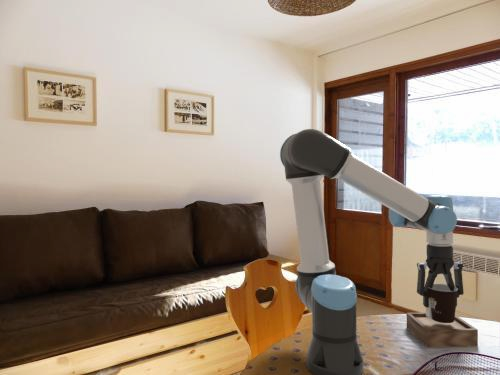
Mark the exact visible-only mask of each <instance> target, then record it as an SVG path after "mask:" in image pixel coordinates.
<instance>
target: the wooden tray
mask: <svg viewBox="0 0 500 375" xmlns="http://www.w3.org/2000/svg"><path fill="white" fill-rule="evenodd" d="M406 329H408V330H409V332H411V333H412V334H413V335H414V336H415V337H416V338H417V339H418V340H419V341H420V342H421V343H422V344H424V345H425V346H426V347H427V348H454V347H456V348H457V347H459V348H460V347H464V348H465V347H468V348H469V347H479V346H478V345H479V343H478V342H479V340H478V339H479V336H478V335H479V333H478V332H479V330H478V329H477V328H475V327H474V326H472V325H471V324H470V323H468V322H467V321H465V320H464V319H463V318H461V317H459V316H458V315H456V314H455V318H454V322H452V323H441V322H437V321H434V320H432V319H430V318H428V317H427V316H426V311H425V312H406Z"/></svg>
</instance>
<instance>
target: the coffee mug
mask: <svg viewBox="0 0 500 375" xmlns="http://www.w3.org/2000/svg"><path fill="white" fill-rule="evenodd" d="M428 290H429V299H430V305H431V314H432V320H434V321H437V322H441V323H452V322H454V318H455V315H456V309H457V307H456V302H457V303H458V298H457V294H458V288H457V287H454V291H451V290H450V289H449V287H448V285H447V283H446V284H445V283H434V284H433V287H432V289H431V288H429V287H428Z"/></svg>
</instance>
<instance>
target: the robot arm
mask: <svg viewBox="0 0 500 375" xmlns="http://www.w3.org/2000/svg"><path fill="white" fill-rule="evenodd" d="M279 158H280V162H281V164H282V165H283V167H284V175H285V181H287V182H288V183H289V184H290V185H291V189H292V199H293V206H294V214H295V224H296V231H297V232H296V233H297V239H298V240H297V241H298V248H299V257H300V263H299V264H298V265H297V266H296V276H297V278H296V280H295V291H296V294H297V297H298V299H299V300H300V301H301V303H302V304H303V305H304V306H305V307H306V308H307V309H308V310H309V312H310V313H311V320H312V321H311V323H312V324H311V326H312V327H311V328H312V331H311V332H312V333H311V335H312V336H311V340H310V342H309V346H308V349H307V352H306V357H305V362H306V364H305V366H306V368H307V369H308V370H309V372H311V373H312V374H313V375H362V374H363V373H364V369H365V368H364V366H365V365H364V362H365V361H364V358H363V355H362V352H361V350H360V346H359V343H358V340H357V300H358V294H357V289H356V285H355V283H354V282H353V281H352V280H350V279H349V278H348V277H345V276H341V275H337V271H336V265H335V264H336V263H334V262H332V261H331V260H330V254H329V246H328V237H327V231H326V230H327V229H326V222H325V210H324V203H323V195H322V193H323V192H322V186H321V185H322V184H321V181H322V179H323V178H324V177H327V178H328V179H330V180H332V179H333V180H334V179H338V180H340V181H341V182H343V183H345V184H346V185H348V186H350V187H352V188H353V189H356V191H359V192H360V193H362V194H363V195H366V196H368V197H369V198H370V199H372V200H374V201H375V202H378V203H379V204H381V205H383V206H385V207H386V208H388V220H389V222H390V224H391V225H392V227H395V228H413V229H417V230H421V231H425V233H426V234H425V235H426V236H425V237H426V242H425V243H427V244H426V260H425V261H424V262H417V263H416V267H417V270H418V271H417V283H416V293H417V294H418V295H420V296H422V305H423V306H424V308H425V312H426V316H427V317H428V318H430V319H432V314H431V305H430V299H429V290H428V287H429V288H431V289H432V287H433V284H435V280H436V278H437V277H438V275H443V277H444V280H445V282H446V285H448V287H449V289H450V290H451V291H454V287H457V288H458V294H457V299H458V298H459V297H460V296H463V295H464V293H465V292H464V283H463V272H462V271H463V268H464V265H463V263H461V262H458V261H454V259H453V258H454V246H453V245H452V244H453V243H454V235H453V234H454V230H455V228H456V227H457V223H458V219H457V218H458V217H457V213H456V212H455V211H454V204H453V203H454V202H453V197H452V196H450V195H443V194H440V195H439V194H434V195H427V196H426V197H425V196H423V195H421V194H420V193H418V192H416V191H414V190H412V189H411V188H410V187H408V186H406V185H405V184H403V183H401V182H399V181H398V180H396V179H395V178H392V177H391V176H390V175H388V174H386V173H385V172H382V171H381V170H380V169H378V168H376V167H374V166H373V165H371V164H369V163H367V161H364V160H363V159H361V158H360V157H358V156H356V155H355V154H353V153H352V149H351V148H350V147H349V146H347V145H345V144H343V143H342V142H340V141H339V140H337V139H335V138H334V137H332V136H331V135H329V134H328V133H325V132H323V131H322V130H319V129H315V128H307V129H303V130H300V131H299V132H296V133H294V134H292V135H290V136H288V137H287V138H286V139H285V141H284V142H283V143H282V145H281V147H280V151H279ZM452 268H453V274H452V272H451V269H452ZM427 269H428V272H427V278H426V270H427ZM453 276H454V277H453ZM453 278H454V280H453ZM457 306H458V301H457V302H456V308H457Z"/></svg>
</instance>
